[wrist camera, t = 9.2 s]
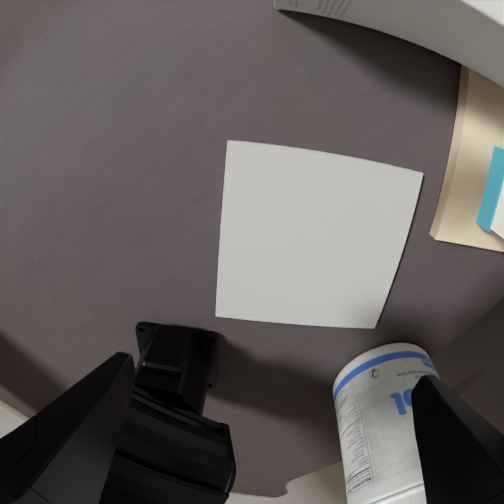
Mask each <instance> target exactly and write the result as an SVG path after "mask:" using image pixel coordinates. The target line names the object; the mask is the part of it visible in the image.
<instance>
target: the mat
mask: <svg viewBox="0 0 504 504" xmlns="http://www.w3.org/2000/svg"><path fill="white" fill-rule="evenodd" d="M422 178H423V173H421V172H418V171H414V170H410V169H406V168H402V167H398V166H394V165H389V164H385V163H380V162H375V161H371V160H366V159H361V158H356V157H351V156H345V155H340V154H334V153H328V152H322V151H316V150H310V149H303V148H296V147H289V146H282V145H274V144H265V143H256V142H247V141H236V140H228V143H227V154H226V166H225V178H224V190H223V203H222V216H221V230H220V245H219V261H218V278H217V296H216V316H217V317H226V318H235V319H244V320H254V321H264V322H275V323H287V324H300V325H313V326H329V327H347V328H371V329H375V326H376V324H377V321H378V319H379V316H380V314H381V311H382V309H383V306H384V303H385V301H386V298H387V295H388V293H389V290H390V287H391V284H392V282H393V279H394V276H395V273H396V270H397V267H398V264H399V261H400V258H401V255H402V252H403V249H404V245H405V242H406V239H407V235H408V232H409V228H410V225H411V221H412V218H413V214H414V210H415V207H416V203H417V199H418V195H419V191H420V186H421V182H422Z"/></svg>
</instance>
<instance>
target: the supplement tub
mask: <svg viewBox="0 0 504 504" xmlns="http://www.w3.org/2000/svg"><path fill="white" fill-rule="evenodd" d="M428 374H433V375H435V376H436V377H437V378H438V379H440V378H439V376H438V374H437V372H436V369H435V367H434V365H433V363H432V361H431V359H430V357H429V356H428V354H427V353H426V352H425V351H424V350H423V349H422V348H420V347H418V346H416V345H413V344H409V343H392V344H387V345H383V346H380V347H376V348H374V349H371V350H369V351H367V352H364V353H363V354H361V355H359V356H358V357H356V358H355V359H353V360H352V361H351V362H350V363H348V364H347V365H346V366H345V367H344V368H343V369H342V371H341V372H340V373H339V375H338V376H337V378H336V380H335V382H334V386H333V397H334V404H335V410H336V417H337V424H338V430H339V438H340V444H341V452H342V460H343V467H344V476H345V484H346V493H347V502H348V504H427V503H426V496H425V489H424V482H423V476H422V470H421V464H420V458H419V453H418V448H417V443H416V437H415V430H414V421H413V412H412V404H411V392H412V390H413V388H414V387H415V385H416V384H417V382H418V380H419V379H420V377H421V376H423V375H428Z"/></svg>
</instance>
